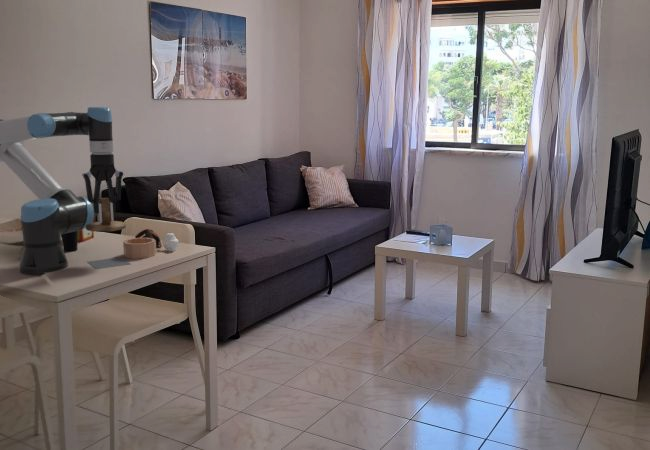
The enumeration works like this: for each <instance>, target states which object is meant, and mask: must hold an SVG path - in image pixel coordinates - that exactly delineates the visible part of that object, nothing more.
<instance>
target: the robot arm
mask: <svg viewBox="0 0 650 450" xmlns="http://www.w3.org/2000/svg"><path fill="white" fill-rule="evenodd" d="M65 136H68V137H69V136H88V137H89V138H88V140H89V142H88V143H89V153H91V154H90V156H89V157H90V158H89V159H90V160H89V161H90V167H89V171H87V172H85V173H84V172H83V173H82V175H81V176H82V178H83V179H84V183H85V190H86V197H85V196H77V195H76V194H75V193H74V192H73V191H72V190H71V189H70V188H63V187H62V186H61V185H60V184H59V183H58V182H57V180H56V179H55V178H54V177H53V176H51V174H50V173H49V172H48V171H47V170H46V169H45V168H44V166H42V165H41V163H39V162H38V160H37V159H36V158H34V156H33V155H32V154H31V153H30V152H29V151H28V150H27V149H26V148H25V147H24V146H25V141H30V140H36V139H43V138H51V137H52V138H53V137H65ZM113 141H114V138H113V118H112V110H111V108H109V107H106V106H90V107H88V108H87V112H76V111H75V112H73V111H71V112H70V111H67V112H57V113H55V112H54V113H53V112H52V113H51V112H50V113H46V112H44V113H43V112H40V113H39V112H38V113H35V114H31V115H28V116H22V117H15V118H10V119H9V118H8V119H0V163H4V164H5V165H6V166H8V168H10V170H11V171H12V172H13V173H14V174H15V175H16V177H18V178H19V180H20V181H21V182H22V183H23V184H24V185H25V186H26V187H27V188H28V189H29V190H30V191H31V192H32V194H33V195H35V197H36V198H37V199H33V200H31V201H28V202H25V203H23V205H22V206H21V209H20V223H21V230H22V231H21V232H22V243H23V251H22V255H21V258H20V261H19V272H20V273H21V274H25V275H34V276H35V275H38V276H39V275H46V273H52V272H57V271H62V270H64V269H67V267H69V262H68V258H67V256H66V254H65V251H64V249H63V246H62V237H61V235H62V234H66V233H70V232H74V231H80V230H82V229H85V228H86V225H87V224H89V223H92V221H93V222H94V218H95V217H94V215H95V214H97V222H99V223H102V210H101V204H100V194H101V185H102V182H105V183H106V187H107V191H108V196H109V197H108V198H109V201H110V219H111V222H114V221H115V220H114V212H116V210H117V209H116V208H117V206H116V203H117V202H118V201H120V200H122V179H123V176H124V172H123V171H119V170H117V169H116V167H115V156H114V142H113ZM91 176H93V178H94V193H93V191H92V183H91V178H92V177H91ZM114 176H115V192H114V187H113V180H112V178H113V177H114ZM91 203H92V204H91Z"/></svg>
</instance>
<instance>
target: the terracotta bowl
mask: <svg viewBox="0 0 650 450" xmlns="http://www.w3.org/2000/svg"><path fill="white" fill-rule="evenodd" d="M122 242H123V244H122V245H123V257H125V258H127V259H133V260H134V259H135V260H137V259H147V258H153V257H155V256H156V255H157V245H156V240H155V239H153V238H141V237H140V238H135V237H134V238H128V239H125V240H124V241H122Z"/></svg>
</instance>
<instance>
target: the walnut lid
mask: <svg viewBox="0 0 650 450" xmlns="http://www.w3.org/2000/svg"><path fill="white" fill-rule="evenodd" d="M110 202H111V201H110V197H101V198H100V197H99V203H100V204H101V210H102V223H99V222H98V221H95V222H94V221H93V223H89V224H87V225H86V230H88V231H93V232H95V233H96V232H99V233H100V232H101V233H103V232H104V233H105V232H115V231H121V230H124V229H126V228H127V227H126V225H127V224H126V222H124V221H118V220H114V222H111V219H110Z"/></svg>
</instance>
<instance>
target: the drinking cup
mask: <svg viewBox="0 0 650 450" xmlns="http://www.w3.org/2000/svg"><path fill="white" fill-rule="evenodd" d="M60 238H61V244H62V249H63V251H64V252H67V253H68V252H75V251H78V242H77V241H78V231H74V232H70V233H66V234H62V235H60Z"/></svg>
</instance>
